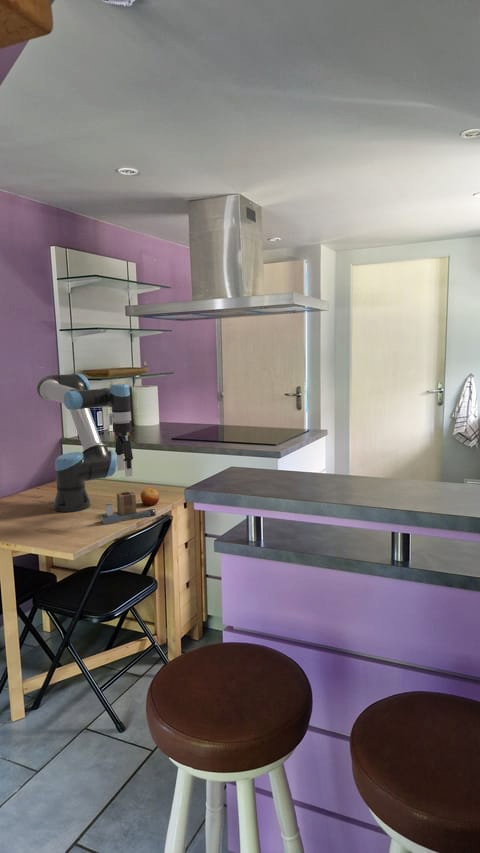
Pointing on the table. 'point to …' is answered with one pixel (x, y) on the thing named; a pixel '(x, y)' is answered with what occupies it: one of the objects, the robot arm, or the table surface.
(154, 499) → the fruit
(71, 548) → the table surface
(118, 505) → the socket collar
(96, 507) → the table surface
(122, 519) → the grey lever handle
